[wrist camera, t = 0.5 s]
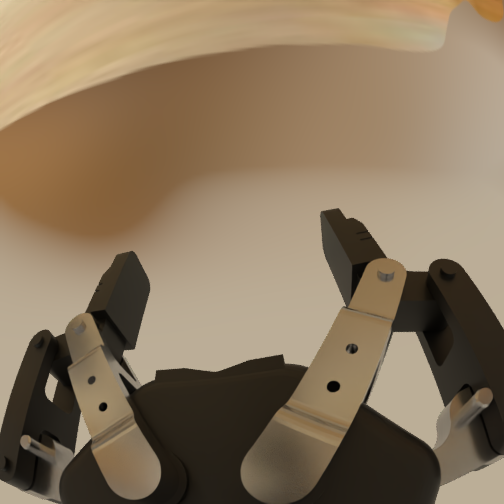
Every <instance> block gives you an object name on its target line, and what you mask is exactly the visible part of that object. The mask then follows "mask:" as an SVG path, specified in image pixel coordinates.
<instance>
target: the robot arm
mask: <svg viewBox="0 0 504 504" xmlns="http://www.w3.org/2000/svg"><path fill="white" fill-rule="evenodd" d="M320 217H321V230H322V243H323V250H324V254H325V257H326V260H327V262H328V264H329V267H330V269H331V271H332V274H333V276H334V278H335V280H336V283H337V285H338V288H339V290H340V292H341V295H342V297H343V300H344V302H345V304H346V307H342V309H341V310H340V312H339V313H338V315H337V317H336V319H335V321H334V323H333V325H332V327H331V329H330V330H329V333H328V334H327V336H326V338H325V340H324V342H323V343H322V345H321V347H320V349H319V351H318V352H317V354H316V356H315V358H314V359H313V361H312V363H311V365H310V366H309V367H305V366H301V365H295V364H285V362H284V358H283V354H282V355H276V356H271V357H265V358H260V359H253V360H249V361H246V362H243V363H241V364H238V365H235V366H232V367H229V368H227V369H224V370H221V371H218V372H210V371H201V370H193V369H187V368H182V369H169V370H157V371H156V377H155V380H154V381H151V382H149V383H147V384H145V385H143V386H141V384H140V382H139V380H138V379H137V377H136V375H135V374H134V372H133V370H132V368H131V367H130V365H129V363H128V361H127V360H126V358H125V357H124V356H123V352H124V350H133V349H135V345H136V341H137V337H138V333H139V329H140V326H141V321H142V317H143V314H144V310H145V307H146V303H147V300H148V296H149V293H150V283H149V279H148V277H147V275H146V273H145V271H144V269H143V267H142V265H141V264H140V262H139V259H138V258H137V255H136V254H135V253H134V252H133V251H130V252H126V253H122V254H118V255H116V257H115V259H114V261H113V263H112V265H111V267H110V268H109V269H108V270H107V271H106V272H105V273H104V274H103V276H102V278H101V280H100V282H99V285H98V286H97V288H96V290H95V291H96V292H95V293H94V295H93V297H92V299H91V301H90V303H89V306H88V308H87V310H86V312H85V313H83V314H79V315H78V316H76V317H75V318H74V319H72V320H71V321H70V322H69V324H68V326H67V327H66V331H65V333H64V334H62V335H59V336H57V337H54V336H53V335H52V334H51V332H50V331H49V330H42V331H40V332H38V333H37V334H36V335H35V336H34V337H33V338H32V340H31V341H30V343H29V346H28V348H27V351H26V353H25V356H24V358H23V361H22V363H21V366H20V369H19V372H18V374H17V377H16V380H15V383H14V386H13V389H12V393H11V395H10V399H9V402H8V405H7V409H6V413H5V417H4V420H3V424H2V428H1V432H0V479H1V480H2V481H4V482H6V483H8V484H10V485H12V486H15V487H17V488H18V489H20V490H21V491H24V492H26V493H28V494H31V495H33V496H36V497H38V498H41V499H46V500H49V501H52V502H55V503H58V504H435V500H436V497H437V494H438V491H439V487H440V486H442V485H444V484H447V483H449V482H451V481H453V480H455V479H457V478H459V477H461V476H463V475H465V474H467V473H469V472H471V471H477V470H480V469H483V468H485V467H487V466H489V465H491V464H493V463H494V462H497V461H498V460H500V459H502V458H504V329H503V327H502V326H501V324H500V322H499V321H498V319H497V318H496V316H495V314H494V313H493V311H492V309H491V308H490V306H489V305H488V303H487V302H486V300H485V299H484V297H483V296H482V294H481V293H480V291H479V290H478V288H477V287H476V285H475V284H474V283H473V281H472V280H471V279H470V277H469V276H468V274H467V273H466V272H465V270H464V269H463V268H462V267H461V266H460V265H459V264H458V263H456V262H454V261H452V260H448V259H438V260H435V261H433V262H432V263H431V265H430V267H429V271H428V272H413V271H406V269H405V268H404V266H403V265H402V264H401V263H399V262H398V261H396V260H393V259H388V258H387V257H386V256H385V254H384V253H383V251H382V250H381V248H380V247H379V246H378V244H377V243H376V241H375V240H374V238H372V236H371V234H370V233H369V232H368V230H367V229H366V227H365V226H364V225H363V224H362V223H361V222H360V221H358V220H356V219H354V218H349V219H346V218H345V216H344V215H343V214H342V212H341V211H340V209H339V208H337V209H332V210H326V211H321V215H320ZM393 332H416V334H417V336H418V338H419V341H420V343H421V346H422V348H423V350H424V353H425V355H426V357H427V360H428V363H429V365H430V368H431V370H432V373H433V375H434V378H435V380H436V383H437V386H438V389H439V391H440V394H441V397H442V400H443V403H444V406H445V408H444V409H443V411H442V412H441V413H440V415H439V417H438V420H437V426H436V427H437V441H436V444H435V447H434V448H433V450H432V449H431V447H430V446H429V445H428V444H426V443H425V442H424V441H422V440H421V439H419V438H417V437H416V436H414V435H413V434H411V433H409V432H408V431H406V430H405V429H403V428H401V427H400V426H398V425H397V424H395V423H394V422H392V421H390V420H389V419H387V418H386V417H385V416H383V415H381V414H380V413H378V412H377V411H375V410H374V409H372V408H371V407H369V406H368V405H366V404H367V402H368V399H369V397H370V395H371V392H372V390H373V387H374V385H375V382H376V380H377V377H378V374H379V371H380V369H381V366H382V363H383V361H384V358H385V355H386V352H387V350H388V346H389V344H390V341H391V338H392V335H393ZM49 373H50V374H51V375H53V376H54V377H55V378H56V379H57V380H58V383H57V387H56V391H55V394H54V398H53V402H51V401H50V400H48V399H47V397H46V394H45V386H46V383H47V379H48V376H49ZM81 412H82V415H83V417H84V420H85V423H86V425H87V428H88V430H89V433H90V435H91V439H90V441H89V442H88V443H87V444H86V445H85V446H84V447H83V448H82V449H81V450H80V452H79V453H78V454H77V455H76V456H75V457H74V453H75V445H76V438H77V432H78V426H79V420H80V414H81Z"/></svg>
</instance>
